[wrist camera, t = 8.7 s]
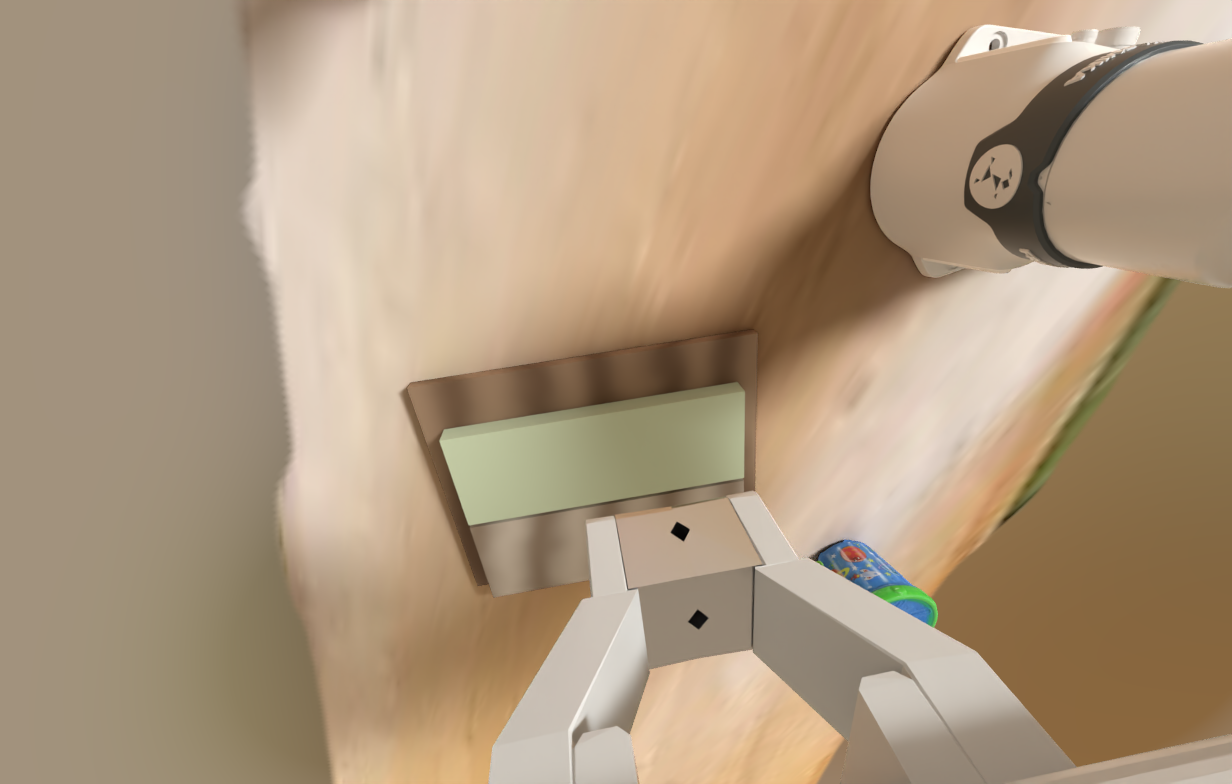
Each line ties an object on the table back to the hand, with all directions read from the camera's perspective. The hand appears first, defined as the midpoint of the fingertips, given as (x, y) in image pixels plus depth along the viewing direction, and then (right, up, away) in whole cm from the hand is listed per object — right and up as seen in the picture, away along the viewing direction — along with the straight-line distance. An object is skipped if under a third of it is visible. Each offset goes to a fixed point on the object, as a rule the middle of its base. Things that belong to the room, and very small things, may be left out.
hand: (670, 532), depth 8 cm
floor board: (-2, -5, +40) cm, 41 cm away
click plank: (-3, -3, +38) cm, 38 cm away
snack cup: (+28, -19, +51) cm, 61 cm away
